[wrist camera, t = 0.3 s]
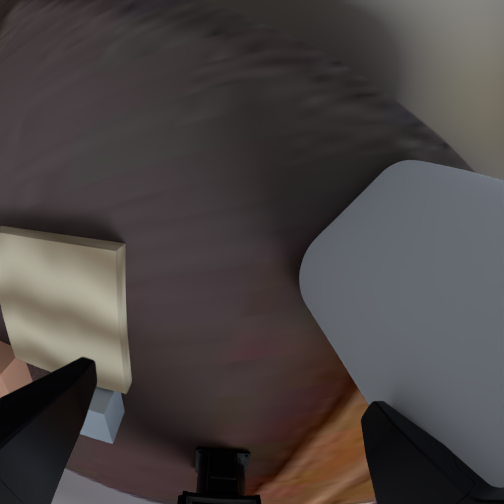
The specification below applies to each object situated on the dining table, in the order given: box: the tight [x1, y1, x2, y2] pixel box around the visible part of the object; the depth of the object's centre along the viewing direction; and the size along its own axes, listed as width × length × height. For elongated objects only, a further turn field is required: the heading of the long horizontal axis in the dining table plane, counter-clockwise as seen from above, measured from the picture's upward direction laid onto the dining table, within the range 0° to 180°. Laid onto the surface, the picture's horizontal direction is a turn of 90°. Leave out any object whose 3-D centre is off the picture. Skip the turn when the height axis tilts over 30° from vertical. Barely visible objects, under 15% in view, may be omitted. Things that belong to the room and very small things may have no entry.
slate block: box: [80, 386, 125, 444], centre depth 23 cm, size 5×5×5 cm
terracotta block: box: [0, 341, 33, 398], centre depth 22 cm, size 5×5×5 cm
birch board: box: [0, 226, 132, 394], centre depth 21 cm, size 14×14×2 cm
